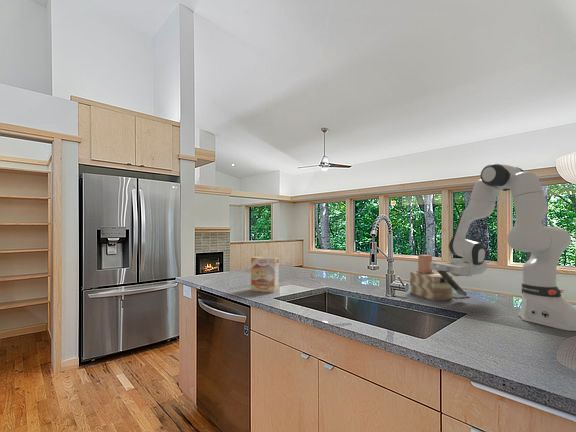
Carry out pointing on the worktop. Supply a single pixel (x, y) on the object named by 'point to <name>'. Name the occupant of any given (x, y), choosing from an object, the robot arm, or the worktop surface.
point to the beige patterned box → (430, 286)
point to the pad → (458, 296)
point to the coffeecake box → (264, 274)
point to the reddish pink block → (424, 263)
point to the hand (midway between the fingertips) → (435, 268)
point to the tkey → (451, 282)
